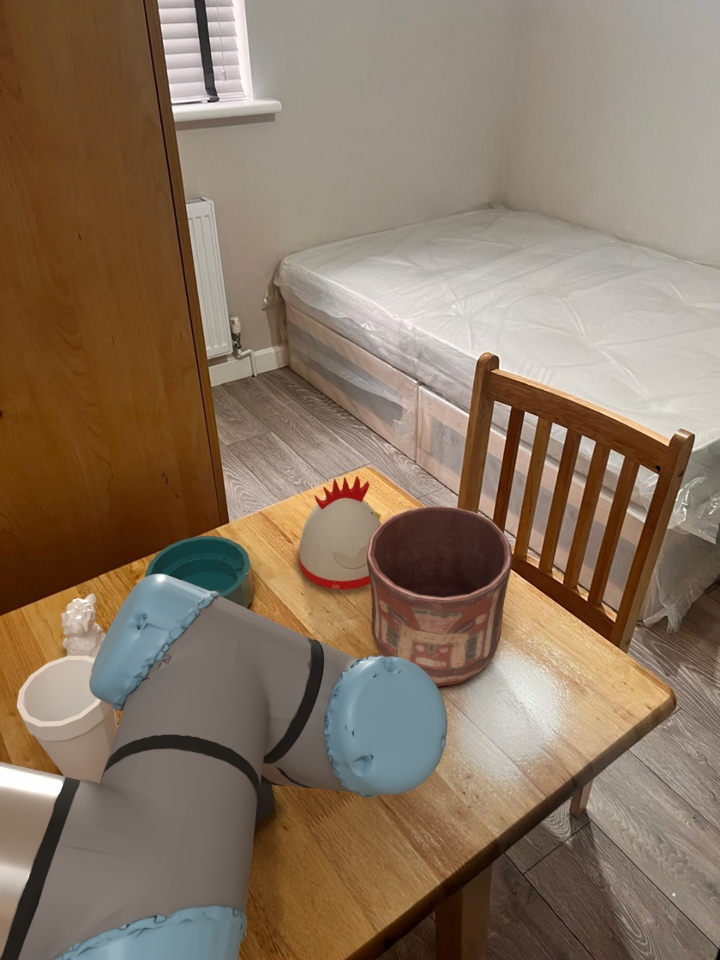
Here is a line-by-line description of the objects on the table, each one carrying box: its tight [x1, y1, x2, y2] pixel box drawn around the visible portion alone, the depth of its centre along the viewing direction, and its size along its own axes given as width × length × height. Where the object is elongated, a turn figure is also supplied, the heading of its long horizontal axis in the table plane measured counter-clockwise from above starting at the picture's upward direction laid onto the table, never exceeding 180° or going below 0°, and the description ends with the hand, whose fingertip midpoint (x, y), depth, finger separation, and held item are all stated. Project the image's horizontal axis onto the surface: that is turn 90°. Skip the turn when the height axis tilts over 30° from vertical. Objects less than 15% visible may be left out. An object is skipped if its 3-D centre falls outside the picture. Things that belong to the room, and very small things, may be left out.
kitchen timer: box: [298, 475, 382, 591], centre depth 109 cm, size 14×14×15 cm
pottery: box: [367, 505, 514, 687], centre depth 92 cm, size 18×18×18 cm
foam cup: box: [16, 655, 118, 783], centre depth 81 cm, size 10×9×13 cm
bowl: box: [144, 535, 255, 609], centre depth 105 cm, size 15×15×6 cm
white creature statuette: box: [60, 593, 107, 659], centre depth 93 cm, size 10×9×12 cm
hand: (199, 735), depth 70 cm, fingers open, 13 cm apart
